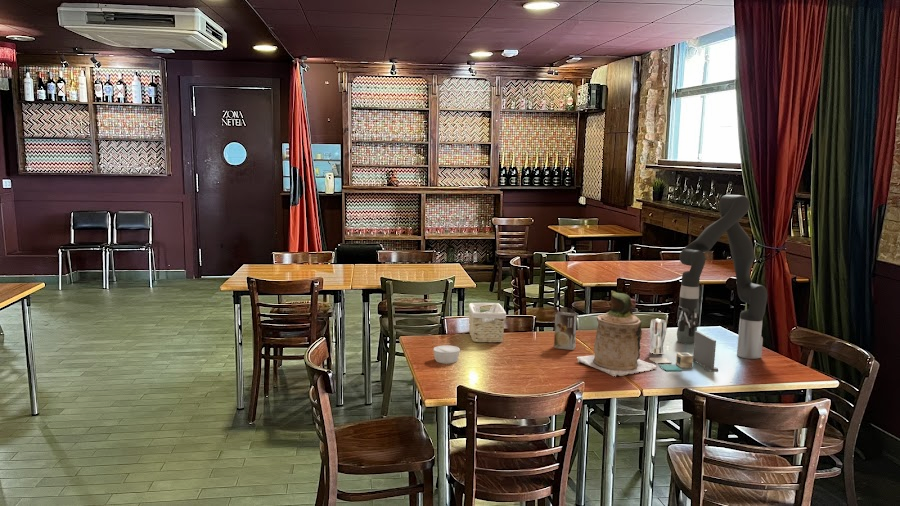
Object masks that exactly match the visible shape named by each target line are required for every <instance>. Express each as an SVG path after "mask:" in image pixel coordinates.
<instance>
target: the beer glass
mask: <svg viewBox="0 0 900 506" xmlns="http://www.w3.org/2000/svg"><path fill="white" fill-rule="evenodd" d="M649 325H650V327H649V337H650V349H649V353H650V354H652V353H653V355H656V354H662V355H663V353H664V343H665V339H666V334H667V320H666V319H665V320H664V319H659V318H652V319H651V320H650V324H649Z"/></svg>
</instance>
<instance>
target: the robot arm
mask: <svg viewBox="0 0 900 506" xmlns="http://www.w3.org/2000/svg"><path fill="white" fill-rule="evenodd" d="M718 202H719V203H718V209H719V212H720V213H719V214H720V216H721V217H720V218H719V219H718V220H716V221H714V222H712V223H711V224H710V225H707V227H705V228H704V230H702V232H701V233H700V234H699V235H698V236H697V238H696V239H695V240H694V241H692V242H690V243H689V244H687V245H686V246H685V247H684V248H683V249H682V250H681V252H680V253H679V261H680V263H681V264H682V265H685V266H689V267H690V269H689V270H687V271H684V272H683V273H682V275H681V284H680V285H681V286H680V290H679V291H680V292H679V305H678V307H677V314H676V320H677V321H678V325H679V331H681V332H683V331H684V330H685V323H684V322H685V321H687V323H688V325H689V330H688V336H690V337H693V336H694V328H695V327H697V328H699V313H695V312H694V309H696V308H698V302H699V301H700V300H699V297H700V277H701V274H702V273H703V269H704V267H705V264H706V258H707V257H706V254H705V253H706V252H709V251H710V250H711V249H712V248H713V247H714V245H716V243H717V242H718V241H719V239H720V238H721V237H722V236H723V235H724V234H725V233H726V236H727V241H728V243H729V250H730V255H731V258H732V263H733V268H734V273H735V281H736V282H735V283H736V290H737V295H738V298H739V299H740V301H741V302H743V303H745V304H749V305H748V309H747V310H746V309H745V310H741V312H740V314H739V324H738V338H737V348H736V355H737V356H738V357H740V358H743V359H749V360H757V359H762V354H763V353H762V351H763V342H764V338H763V336H762V330H763V319H764V315H765V314H766V308H767V301H768V290H767V288H766V287H765V286H764V285H762V284H758V283H753V281H752V279H751V268H752V265H753V263H754V261H755V249H754V246H753V241H752V239H751V237H750V236H749V235H748V234H747V232H746V230H744V228H743V227H742V226H741V224H740V222H739V221H740V220H742V218H743V217H744V216H745V215H746V214H747V213H748V211H749V209H750V203H751V202H750V200H749V198H748V197H747V196H745V195H740V194H725V195H722V196H721V198H720V199H719V201H718ZM679 306H680V307H679ZM679 316H680V317H679ZM679 322H680V323H679ZM695 322H696V324H695Z"/></svg>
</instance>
